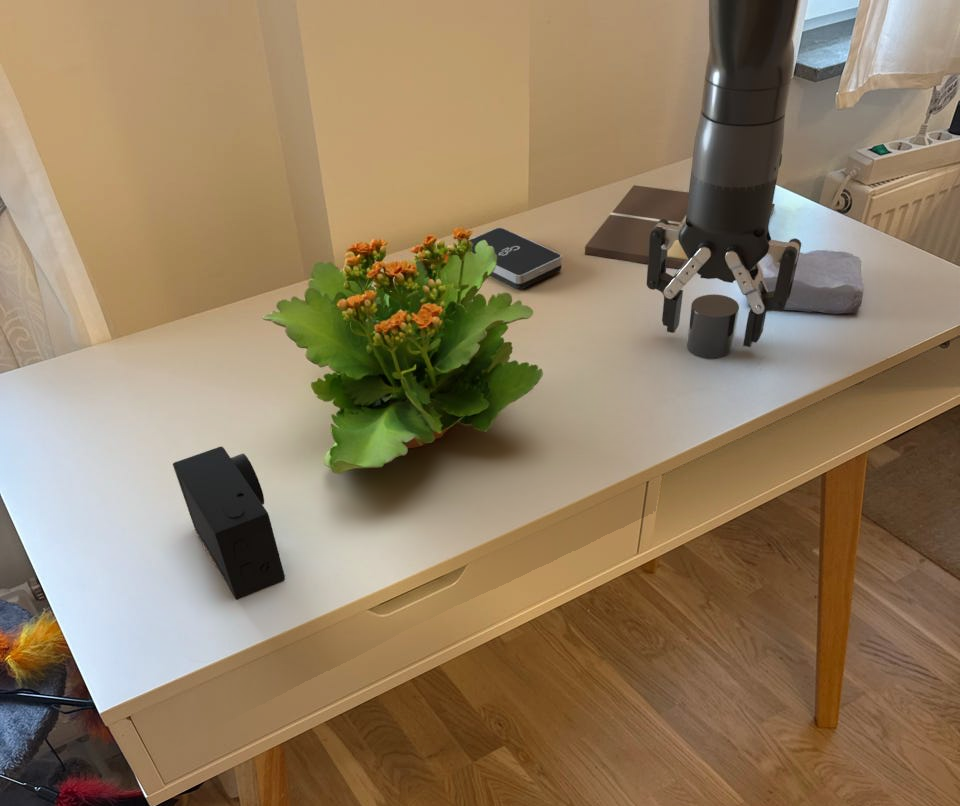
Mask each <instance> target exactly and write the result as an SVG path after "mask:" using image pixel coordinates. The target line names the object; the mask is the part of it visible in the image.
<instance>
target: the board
mask: <svg viewBox="0 0 960 806" xmlns="http://www.w3.org/2000/svg"><path fill="white" fill-rule="evenodd" d="M688 195H689V191H688V192H687V191H681V190H673V189H665V188H657V187H651V186H644V185H643V186H642V185H637V184H636V185H635V184H634V185H633V186H632V187H631V188H630V189H629V191H627V193H626V194H625V195H624V196H623V198H622V199H621V200H620V202H619V203H617V205H616V207H615V208H614V209H613V211H612V212H610V213H609V216H607V217H606V219H605V220H604V222H603V223H602V224H601V226H599V228H598V229H597V230H596V232H595V233H594V234H593V235H592V237H591V238H590V239H589V240H588V242H587V243H586V244H585V246H584V255H589V256H595V257H601V258H608V259H614V260H620V261H621V260H622V261H625V262H634V263H639V264H645V265H648V255H649V240H650V233H651V231H652V230H653V229H654V227H655V226H656V224H657V223H658V222H659V220H661V219H666V220H667V221H668V222H669V225H674V226H681V227H683V226H684V224H685V221H686V213H687V204H688ZM775 206H776V204H775V203H773V204H772V210H771V215H770V218H771V217H772V215H773V213H774V211H775ZM687 259H688V258H687V256H686V254H685V252H684V250H683V249H682V247H681V245H680V243H679V240H676V241H674V244H673V245H672V247H671V248H670V249H669V250H668V251H667V263H666V268H671V269H677V270H679V269H680V268H681V267H682V266H683V264H684V263H685V262H686V260H687Z"/></svg>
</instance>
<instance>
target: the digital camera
mask: <svg viewBox="0 0 960 806" xmlns="http://www.w3.org/2000/svg"><path fill="white" fill-rule="evenodd" d="M172 466H173V470H174V473H175V476H176V478H177V482H178V485H179V488H180V490H181V493H182V497H183V499H184V501H185V505H186V507H187V510H188V513H189V516H190V519H191V522H192V525H193V528H194V530H195V532H196V533H197V535H198V536H199V538H200V540H201V542H202V543H203V545H204V547H205V549H206V550H207V552H208V554H209V555H210V557H211V559H212V561H213V562H214V564H215V566H216V568H217V569H218V570H219V573H220V574H221V576H222V578H223V579H224V581H225V583H226V585H227V586H228V588H229V590H230V591H231V594H232V595H233V597H234V598H235V600H238V599H241V598H243V597H246V596H248V595H251V594H253V593H255V592H258V591H260V590H262V589H265V588H267V587H271V586H273V585H276V584H278V583H280V582H282V581H284V580H285V579H286V575H285V572H284V568H283V564H282V560H281V557H280V553H279V549H278V545H277V541H276V537H275V534H274V530H273V527H272V522H271V519H270V515H269V512H268V511H267V509H266V508H265V506H264V505H265V497H264V491H263V489H262V486H261V483H260V481H259V478H258V475H257V473H256V471H255V468H254V466H253V465H252V463H251V461H250V460H249V458H248V456H247V455H246V454H245V453H240V454H238V455H235V456H233V457H231V456H230V455H229V453H228V452H227V451H226V449H225V448H224V447H223V446H218V447H214V448H212V449H209V450H207V451H206V450H205V451H204V452H200V453H197V454H195V455H192V456H188V457H186V458H183V459H180V460H177V461H174V462H173V463H172Z"/></svg>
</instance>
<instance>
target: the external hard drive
mask: <svg viewBox="0 0 960 806" xmlns="http://www.w3.org/2000/svg"><path fill="white" fill-rule="evenodd" d="M483 240H486V242H487V243H488V246H492V247H493V248H494V251H495V254H496V255H497V258H498V259H497V261H496V262H497V263H496V267H495V269H494V271H493V272H492V274H491V275H490V276H489V277H492V278H493V279H496V280H498V281H500V282H502V283H504V284H507V285H508V286H510V287H512V288H514V289H516V290H520V291H521V290H522V289H524V288H527V287H529V286H532V285H534V284H536V283H538V282H539V281H542V280H544V279H546V278H548V277H550V276H552V275H554V274H556V273H558V272H560V271H561V270H562V266H563V255H562V254H561V253H559V252H557V251H555V250H553V249H551V248H549V247H547V246H544V245H541V244H540V243H538V242H535V241H533V240H531V239H529V238H527V237H524V236H522V235H519V234H518V233H515V232H513V231H511V230H509V229H506V228H504V227H495V228H492V229H491V230H488V231H485V232H484V233H481V234H479V235H476V236H474V237H472V238H469V240H468V241H470V242H472V243H473V246H472V253H473V254H476V251H475V246H476V245H477V244H478V242H480V241H483Z"/></svg>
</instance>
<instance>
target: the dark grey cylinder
mask: <svg viewBox="0 0 960 806" xmlns="http://www.w3.org/2000/svg"><path fill="white" fill-rule="evenodd" d="M739 311H740V305H739V302H737V301H736V300H735V299H733V297H729V296H728V295H723V294H705V295H701V296H699V297H696V298H695V299H693V300H692V301H691V305H690V314H689V322H688V330H687V331H688V332H687V338H686V349H687V351H688V352H689V353H690V354H692V355H694V356H695V357H697V358H701V359H708V360H713V359H714V360H715V359H721V358H724V357H726V356H728V355H730V354H731V352H732V351H733V347H734V341H735V335H736V329H737V323H738V316H739Z"/></svg>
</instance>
